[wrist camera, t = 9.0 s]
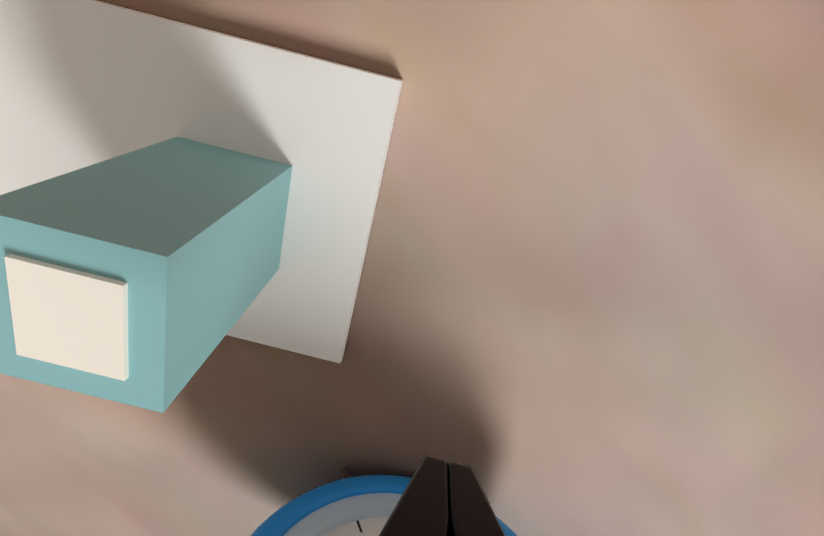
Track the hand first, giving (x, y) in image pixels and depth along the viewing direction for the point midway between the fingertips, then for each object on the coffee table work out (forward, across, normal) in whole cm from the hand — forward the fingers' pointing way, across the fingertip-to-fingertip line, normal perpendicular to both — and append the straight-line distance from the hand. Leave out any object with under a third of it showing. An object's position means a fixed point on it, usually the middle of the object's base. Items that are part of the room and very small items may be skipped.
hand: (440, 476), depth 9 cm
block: (+10, +8, 0) cm, 13 cm away
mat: (+10, +11, 0) cm, 15 cm away
